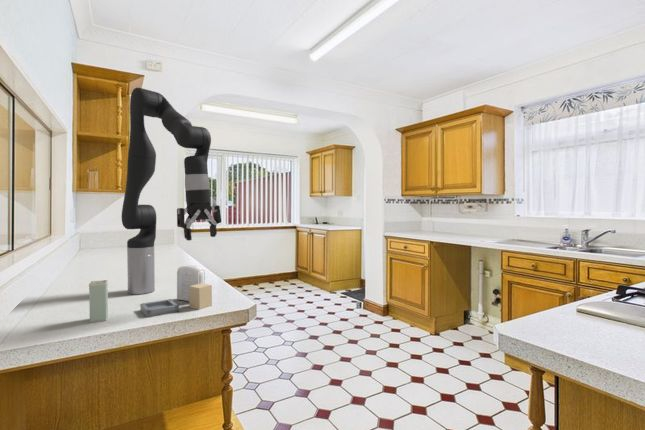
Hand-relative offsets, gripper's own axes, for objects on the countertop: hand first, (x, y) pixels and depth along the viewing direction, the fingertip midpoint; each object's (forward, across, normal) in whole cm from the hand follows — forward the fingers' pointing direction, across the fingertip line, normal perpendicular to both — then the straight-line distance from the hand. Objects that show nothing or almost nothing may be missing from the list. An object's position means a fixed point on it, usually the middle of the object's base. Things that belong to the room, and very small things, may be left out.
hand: (201, 238), depth 117 cm
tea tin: (+21, +28, -10) cm, 37 cm away
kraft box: (+22, +2, -1) cm, 23 cm away
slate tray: (+22, +13, -6) cm, 26 cm away
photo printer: (+23, 0, -10) cm, 25 cm away
